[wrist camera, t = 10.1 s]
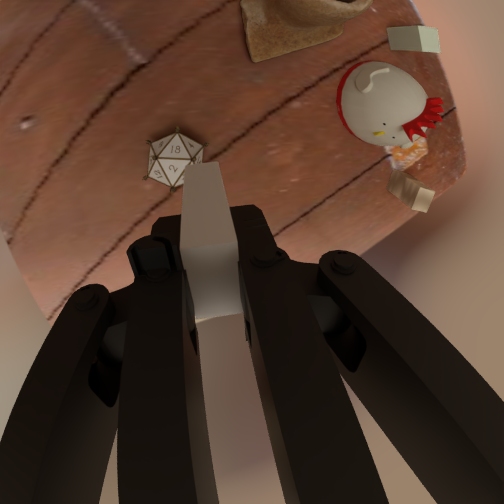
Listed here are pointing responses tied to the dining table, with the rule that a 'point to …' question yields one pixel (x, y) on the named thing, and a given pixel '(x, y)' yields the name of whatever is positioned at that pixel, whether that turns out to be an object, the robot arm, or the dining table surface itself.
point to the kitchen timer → (385, 105)
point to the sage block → (414, 38)
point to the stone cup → (294, 23)
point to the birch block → (410, 191)
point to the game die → (173, 158)
